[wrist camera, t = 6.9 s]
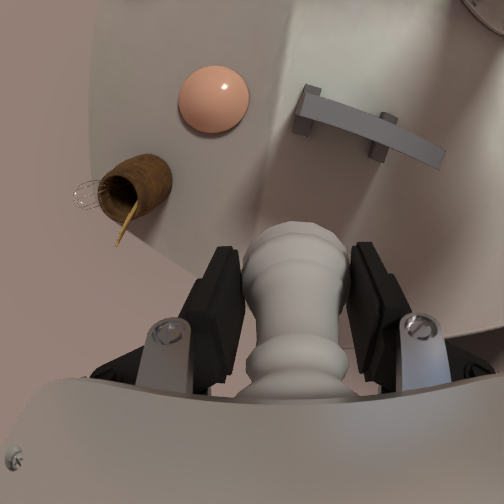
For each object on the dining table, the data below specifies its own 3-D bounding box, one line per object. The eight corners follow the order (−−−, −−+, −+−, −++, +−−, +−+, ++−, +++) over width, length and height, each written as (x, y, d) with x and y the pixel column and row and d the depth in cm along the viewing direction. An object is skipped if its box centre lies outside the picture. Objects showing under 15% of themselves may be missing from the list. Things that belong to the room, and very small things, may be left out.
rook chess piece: (256, 203, 11) (200, 380, 4) (363, 232, 11) (437, 408, 4) (234, 293, 13) (189, 459, 6) (326, 315, 13) (339, 478, 6)
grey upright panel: (396, 118, 23) (452, 127, 14) (382, 162, 26) (430, 193, 16) (302, 84, 23) (313, 66, 14) (289, 131, 26) (292, 142, 16)
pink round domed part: (256, 73, 23) (256, 72, 23) (240, 139, 26) (239, 139, 26) (188, 63, 23) (186, 62, 23) (175, 126, 26) (172, 126, 26)
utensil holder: (139, 143, 28) (68, 168, 17) (186, 170, 29) (130, 209, 18) (121, 187, 30) (55, 228, 20) (163, 213, 31) (109, 267, 21)
